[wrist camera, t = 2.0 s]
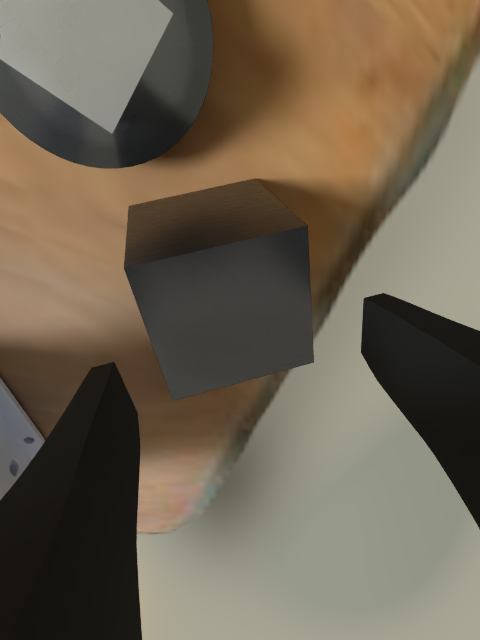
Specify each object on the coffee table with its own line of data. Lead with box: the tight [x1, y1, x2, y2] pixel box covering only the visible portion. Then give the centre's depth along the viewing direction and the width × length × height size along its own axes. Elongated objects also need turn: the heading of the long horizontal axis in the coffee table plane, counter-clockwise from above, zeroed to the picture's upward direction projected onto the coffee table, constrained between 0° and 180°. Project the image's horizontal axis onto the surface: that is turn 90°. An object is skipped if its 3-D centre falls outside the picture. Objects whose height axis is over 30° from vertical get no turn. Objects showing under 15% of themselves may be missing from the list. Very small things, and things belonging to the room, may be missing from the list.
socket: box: [124, 179, 314, 401], centre depth 15 cm, size 5×5×6 cm
